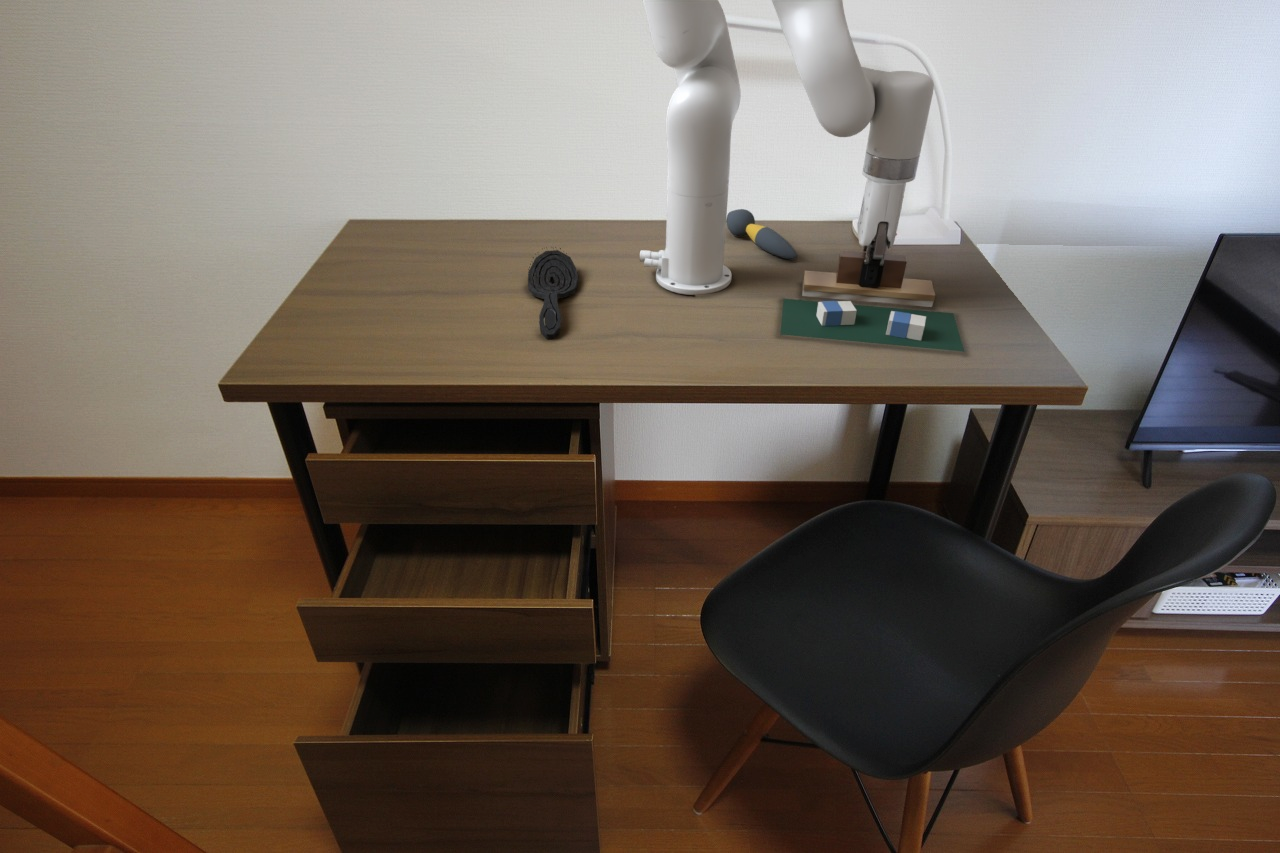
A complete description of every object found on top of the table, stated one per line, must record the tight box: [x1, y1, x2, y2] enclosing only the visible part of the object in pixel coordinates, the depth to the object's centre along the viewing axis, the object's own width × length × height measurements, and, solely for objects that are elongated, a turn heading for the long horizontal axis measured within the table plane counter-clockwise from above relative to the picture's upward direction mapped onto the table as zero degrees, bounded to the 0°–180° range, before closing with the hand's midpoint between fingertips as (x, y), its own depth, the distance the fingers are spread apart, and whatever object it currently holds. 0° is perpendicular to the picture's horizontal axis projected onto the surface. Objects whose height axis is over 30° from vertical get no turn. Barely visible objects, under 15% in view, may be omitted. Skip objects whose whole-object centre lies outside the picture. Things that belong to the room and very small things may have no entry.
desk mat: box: [779, 298, 966, 353], centre depth 117 cm, size 26×12×1 cm, turn 79°
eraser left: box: [816, 300, 857, 326], centre depth 117 cm, size 5×3×2 cm, turn 94°
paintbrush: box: [726, 208, 798, 261], centre depth 141 cm, size 20×5×5 cm, turn 38°
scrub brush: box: [801, 250, 936, 308], centre depth 123 cm, size 20×5×7 cm, turn 79°
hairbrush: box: [527, 246, 579, 340], centre depth 123 cm, size 8×4×25 cm
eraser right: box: [886, 311, 926, 341], centre depth 114 cm, size 5×3×2 cm, turn 69°
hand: (868, 280), depth 124 cm, fingers closed
